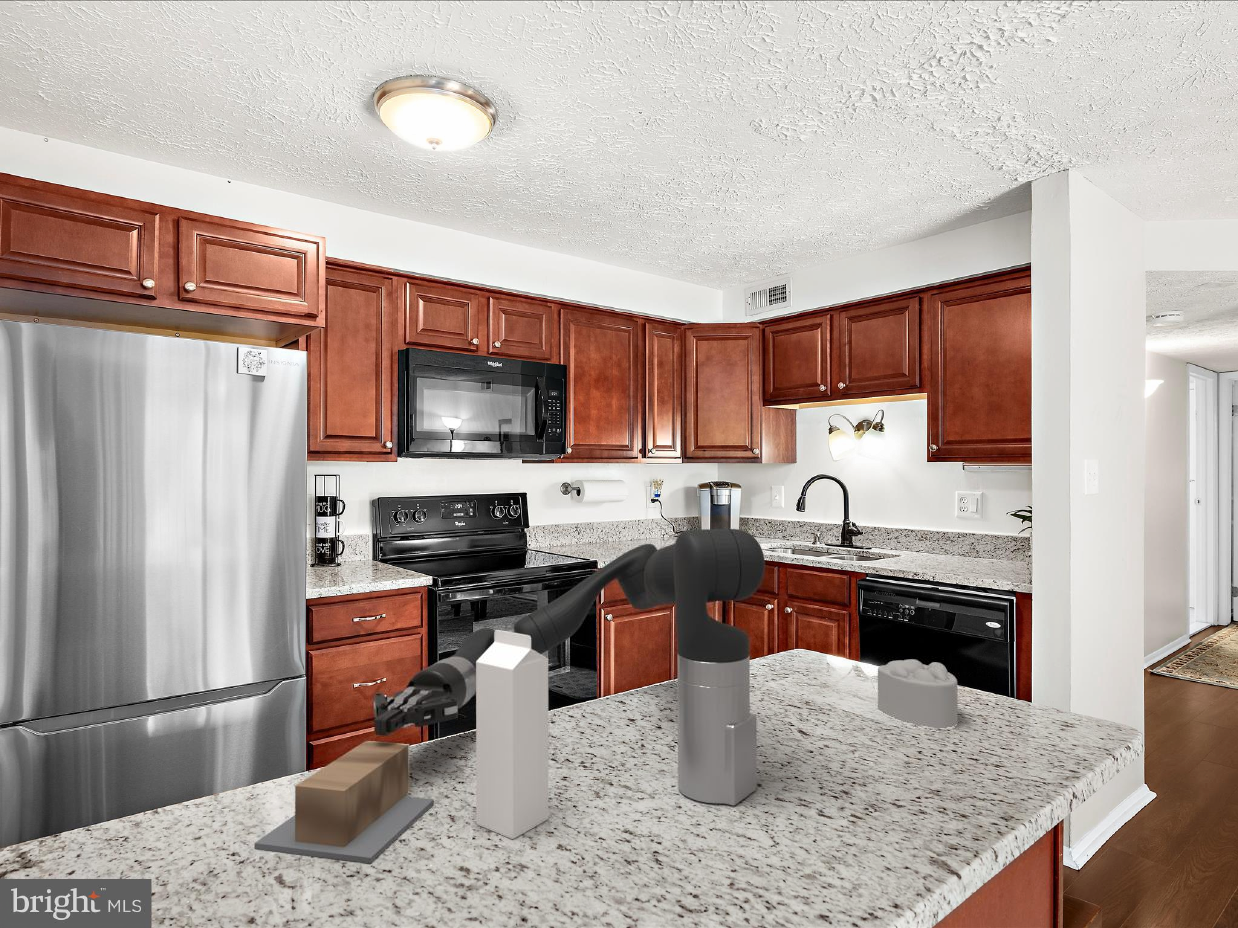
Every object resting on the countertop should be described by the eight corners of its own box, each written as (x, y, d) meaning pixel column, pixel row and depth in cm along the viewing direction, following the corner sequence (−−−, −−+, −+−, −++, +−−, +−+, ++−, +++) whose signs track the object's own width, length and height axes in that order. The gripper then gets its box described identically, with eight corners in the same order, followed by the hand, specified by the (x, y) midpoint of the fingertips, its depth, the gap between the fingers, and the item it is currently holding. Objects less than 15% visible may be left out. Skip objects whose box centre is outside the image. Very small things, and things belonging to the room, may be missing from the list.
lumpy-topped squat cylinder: (920, 702, 129) (919, 653, 129) (975, 726, 117) (975, 672, 117) (869, 708, 126) (869, 657, 126) (920, 733, 114) (920, 677, 114)
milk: (512, 806, 89) (512, 624, 90) (549, 819, 86) (549, 630, 86) (474, 825, 84) (475, 633, 85) (512, 840, 81) (512, 640, 81)
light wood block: (367, 739, 93) (295, 785, 80) (409, 743, 92) (344, 790, 78) (367, 787, 93) (295, 841, 80) (409, 791, 92) (344, 847, 78)
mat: (332, 793, 93) (332, 788, 93) (433, 803, 90) (433, 799, 90) (254, 848, 79) (254, 842, 79) (370, 863, 76) (370, 857, 76)
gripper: (485, 716, 106) (429, 762, 89) (403, 710, 109) (332, 753, 92) (485, 664, 106) (429, 700, 89) (403, 659, 109) (333, 693, 92)
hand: (380, 727), depth 91 cm, fingers closed
